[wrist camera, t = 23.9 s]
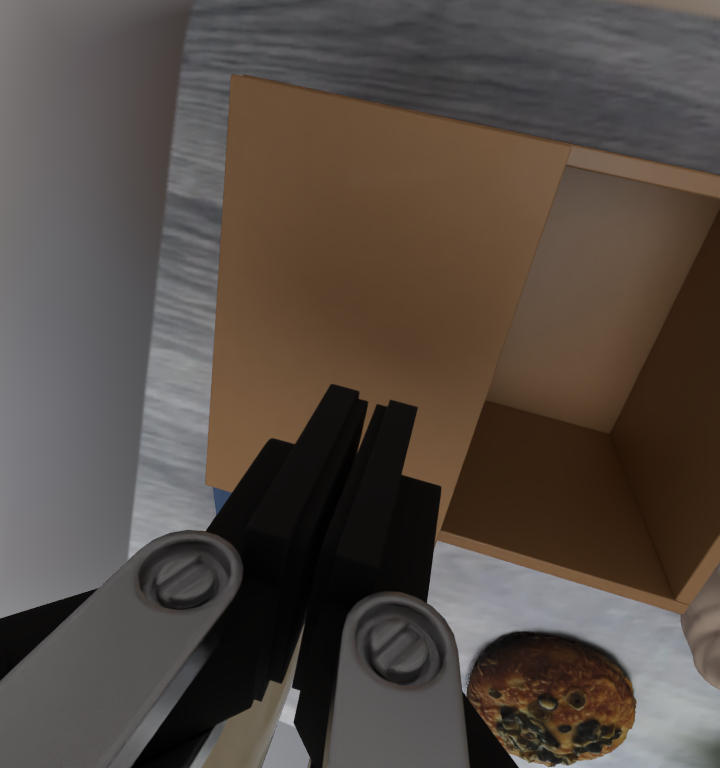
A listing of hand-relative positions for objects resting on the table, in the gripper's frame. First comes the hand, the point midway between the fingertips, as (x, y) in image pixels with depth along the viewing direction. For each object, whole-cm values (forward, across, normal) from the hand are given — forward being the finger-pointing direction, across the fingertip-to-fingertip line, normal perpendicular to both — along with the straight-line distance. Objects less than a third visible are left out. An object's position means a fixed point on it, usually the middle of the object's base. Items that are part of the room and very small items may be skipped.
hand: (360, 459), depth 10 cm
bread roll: (+17, -15, +27) cm, 35 cm away
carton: (+18, -3, +1) cm, 18 cm away
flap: (+6, +1, +1) cm, 6 cm away
